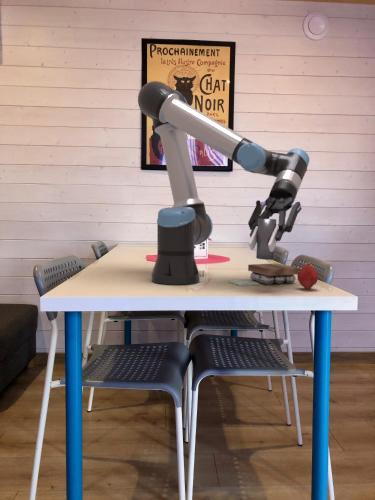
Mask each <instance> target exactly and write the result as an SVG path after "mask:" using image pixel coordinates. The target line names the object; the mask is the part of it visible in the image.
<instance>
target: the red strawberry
mask: <svg viewBox="0 0 375 500" xmlns="http://www.w3.org/2000/svg"><path fill="white" fill-rule="evenodd" d="M318 279H319V275H318V271H317V270H316V268H314V267H313V266H312V265H311V262H307V263H306V264H305V265H304V266H302V267H301V268H300V269H299V272H298V274H297V281H298V283H299V285H300V286H301V287H303V288H304V289H305V290H307V291H308V290H310V289H311V288H313V287H314V286H315V285H316V284H317V282H318V281H319V280H318Z"/></svg>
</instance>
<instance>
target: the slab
mask: <svg viewBox="0 0 375 500" xmlns="http://www.w3.org/2000/svg"><path fill="white" fill-rule="evenodd" d="M247 268H248V270H247V271H248V272H251V273H252V272H255V273H259V274H263V275H267V276H275V275H294V276H295V275H298V272H299V271H300V268H299V267H296V266H291V265H286V264H282V263H275V262H274V263H257V264H248V267H247Z"/></svg>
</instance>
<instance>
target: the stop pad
mask: <svg viewBox="0 0 375 500" xmlns="http://www.w3.org/2000/svg"><path fill="white" fill-rule="evenodd" d="M228 283H229V284H232V285H235V286H239V287H245V286H246V287H247V286H249V287H250V286H260V284H261V283H260V282H257V281H254V280H251V279H250V280H249V279H244V280H243V279H241V280H237V279H236V280H228Z"/></svg>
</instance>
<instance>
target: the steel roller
mask: <svg viewBox="0 0 375 500" xmlns="http://www.w3.org/2000/svg"><path fill="white" fill-rule="evenodd" d="M275 227H277V219H275V218H269V219H258V232H257V243H256V253H255V255H256V256H255V257H256V259H258V260H268V261H269V260H270V261H271V260H275V253H276V247H275V248H274V250H273V252H270V250H269V247H268V244H269V241H270V239H271V236H272V234H273V231H274V229H275Z"/></svg>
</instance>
